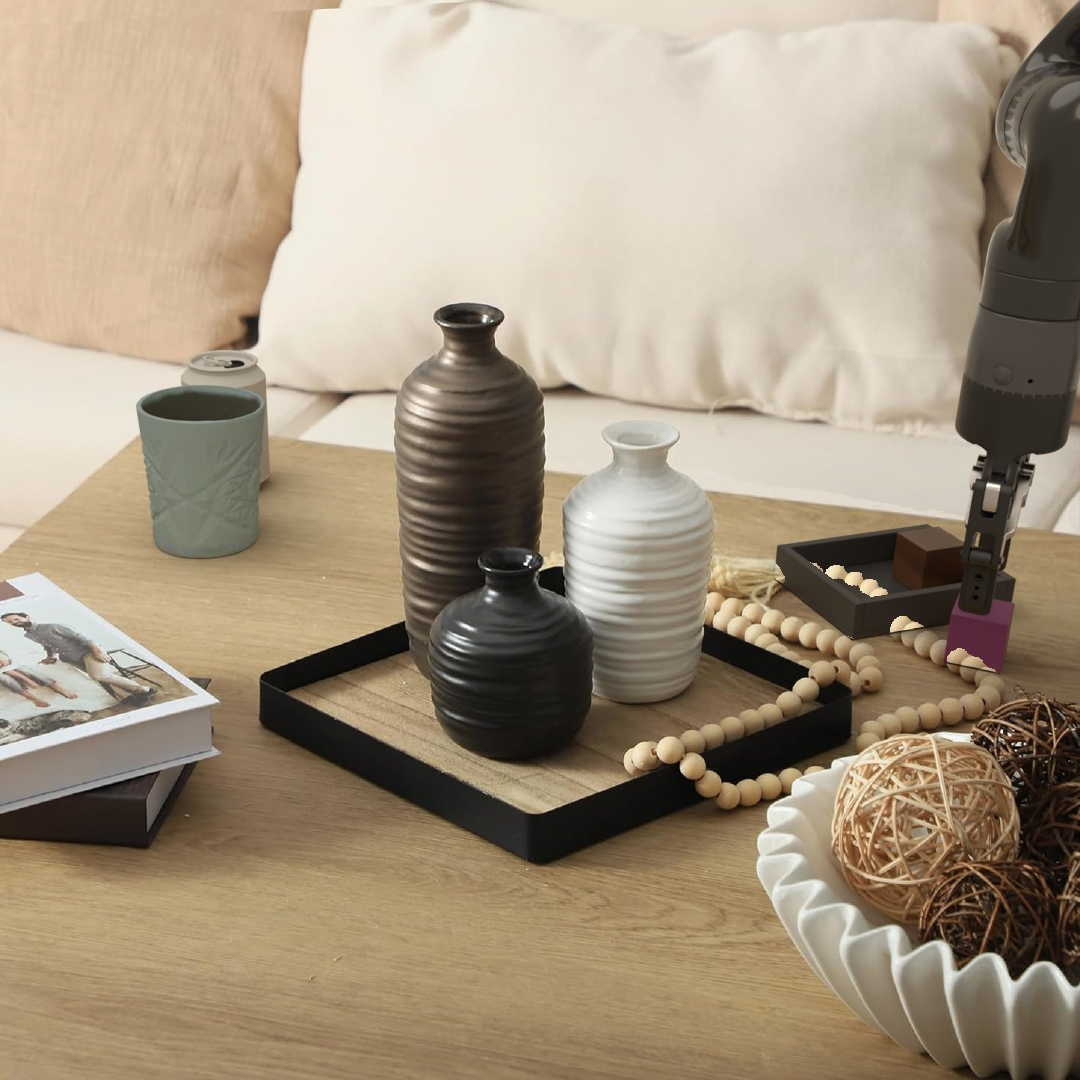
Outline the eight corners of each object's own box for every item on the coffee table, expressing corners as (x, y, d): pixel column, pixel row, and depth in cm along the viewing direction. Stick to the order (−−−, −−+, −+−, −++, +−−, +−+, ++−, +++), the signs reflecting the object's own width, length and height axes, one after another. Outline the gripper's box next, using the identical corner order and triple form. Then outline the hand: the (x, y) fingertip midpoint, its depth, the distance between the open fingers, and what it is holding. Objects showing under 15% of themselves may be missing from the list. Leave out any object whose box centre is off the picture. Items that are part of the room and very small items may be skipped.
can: (266, 498, 133) (260, 370, 128) (182, 498, 132) (173, 369, 127) (273, 468, 140) (268, 346, 135) (193, 468, 139) (185, 345, 134)
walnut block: (931, 570, 121) (938, 526, 120) (961, 590, 118) (969, 544, 116) (890, 577, 120) (897, 532, 118) (919, 597, 117) (926, 551, 115)
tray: (922, 555, 125) (927, 523, 124) (1010, 613, 116) (1016, 578, 114) (773, 578, 120) (776, 544, 119) (851, 640, 110) (856, 604, 109)
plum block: (951, 640, 111) (959, 592, 109) (1006, 651, 110) (1014, 602, 108) (943, 662, 108) (951, 613, 106) (999, 674, 106) (1008, 624, 105)
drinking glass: (126, 532, 125) (114, 397, 120) (231, 506, 131) (224, 376, 126) (184, 572, 118) (174, 430, 113) (293, 542, 124) (288, 406, 119)
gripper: (1069, 411, 93) (1024, 640, 99) (1087, 356, 105) (1046, 563, 111) (948, 392, 95) (912, 616, 102) (979, 340, 107) (945, 544, 114)
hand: (982, 588), depth 107 cm, fingers open, 8 cm apart
